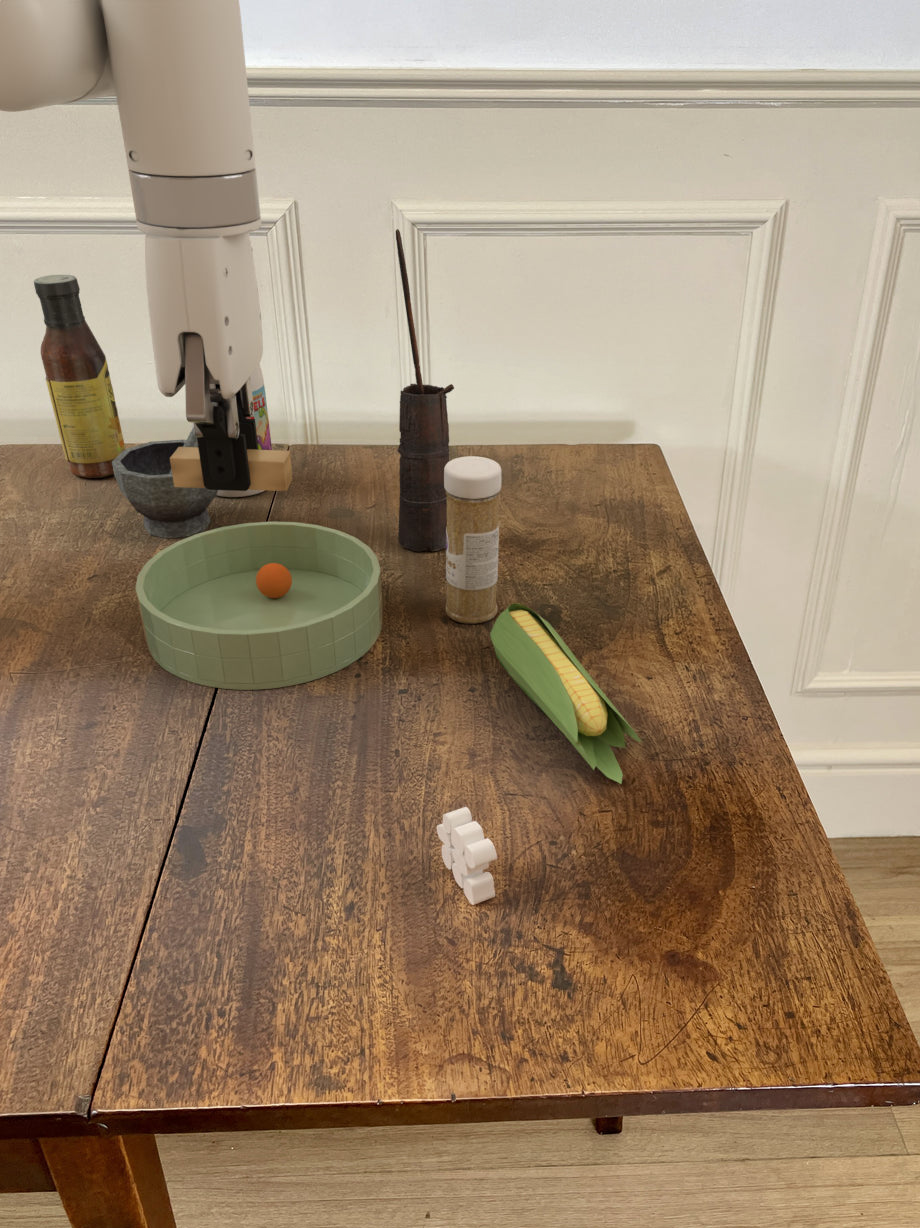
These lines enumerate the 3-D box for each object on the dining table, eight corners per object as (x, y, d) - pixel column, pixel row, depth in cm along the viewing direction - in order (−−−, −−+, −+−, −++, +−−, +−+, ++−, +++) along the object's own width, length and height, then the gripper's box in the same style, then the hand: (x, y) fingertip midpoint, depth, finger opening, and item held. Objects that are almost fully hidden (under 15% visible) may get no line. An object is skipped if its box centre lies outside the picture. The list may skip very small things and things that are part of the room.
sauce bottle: (139, 470, 113) (104, 279, 102) (85, 486, 109) (43, 289, 98) (109, 453, 117) (72, 268, 106) (56, 468, 113) (11, 277, 102)
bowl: (113, 686, 79) (101, 630, 76) (183, 568, 95) (174, 518, 92) (367, 693, 79) (363, 637, 76) (393, 574, 95) (391, 524, 92)
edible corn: (534, 637, 86) (536, 589, 84) (654, 780, 71) (661, 726, 68) (476, 649, 84) (477, 600, 82) (587, 798, 69) (591, 743, 67)
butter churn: (492, 524, 104) (497, 223, 89) (473, 566, 96) (475, 245, 81) (403, 515, 105) (393, 217, 90) (377, 556, 98) (361, 238, 82)
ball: (254, 604, 88) (250, 572, 87) (262, 587, 91) (258, 556, 89) (289, 605, 88) (286, 573, 87) (296, 588, 91) (293, 557, 89)
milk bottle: (185, 487, 110) (154, 290, 99) (240, 465, 115) (216, 276, 104) (236, 505, 106) (209, 303, 95) (290, 482, 112) (271, 288, 100)
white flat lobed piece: (496, 901, 61) (497, 845, 59) (474, 909, 61) (475, 853, 58) (457, 849, 65) (457, 794, 62) (437, 857, 64) (436, 802, 62)
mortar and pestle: (122, 550, 97) (97, 426, 91) (127, 509, 105) (104, 391, 98) (245, 539, 100) (230, 418, 93) (241, 500, 107) (226, 385, 101)
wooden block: (174, 487, 74) (169, 457, 72) (183, 475, 75) (178, 446, 74) (286, 491, 74) (283, 462, 72) (292, 479, 75) (290, 450, 74)
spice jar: (440, 602, 90) (438, 456, 83) (491, 597, 92) (493, 452, 84) (451, 629, 87) (450, 478, 79) (504, 623, 88) (508, 473, 80)
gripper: (175, 179, 71) (210, 438, 81) (89, 223, 58) (145, 526, 68) (284, 183, 71) (306, 442, 81) (224, 228, 58) (259, 531, 68)
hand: (232, 478), depth 74 cm, fingers closed on wooden block, 2 cm apart
